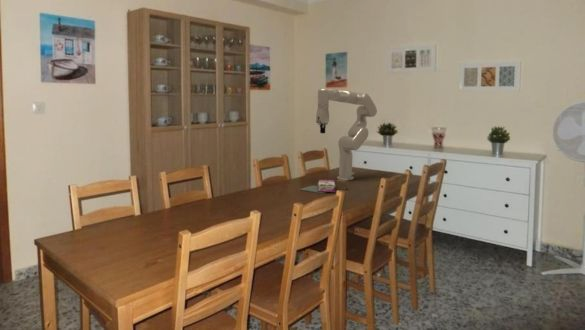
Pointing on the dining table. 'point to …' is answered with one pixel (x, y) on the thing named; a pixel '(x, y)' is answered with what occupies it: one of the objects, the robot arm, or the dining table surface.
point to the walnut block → (341, 184)
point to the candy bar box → (326, 185)
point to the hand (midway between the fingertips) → (322, 133)
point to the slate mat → (312, 189)
